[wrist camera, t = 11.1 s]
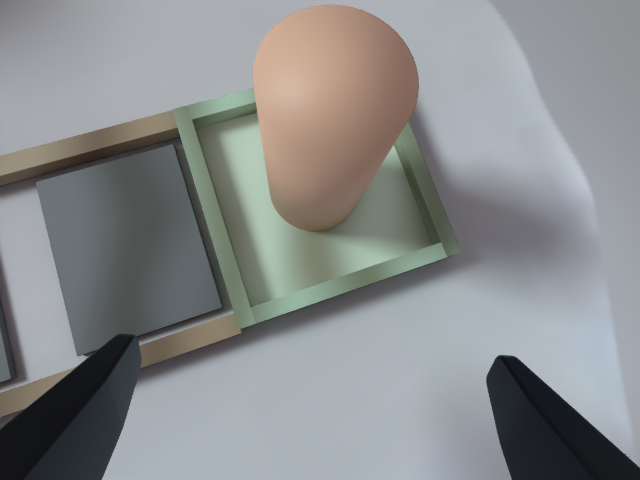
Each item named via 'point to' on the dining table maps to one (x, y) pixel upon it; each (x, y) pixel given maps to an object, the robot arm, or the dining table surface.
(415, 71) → the peach capsule
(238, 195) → the frame
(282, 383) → the dining table surface
